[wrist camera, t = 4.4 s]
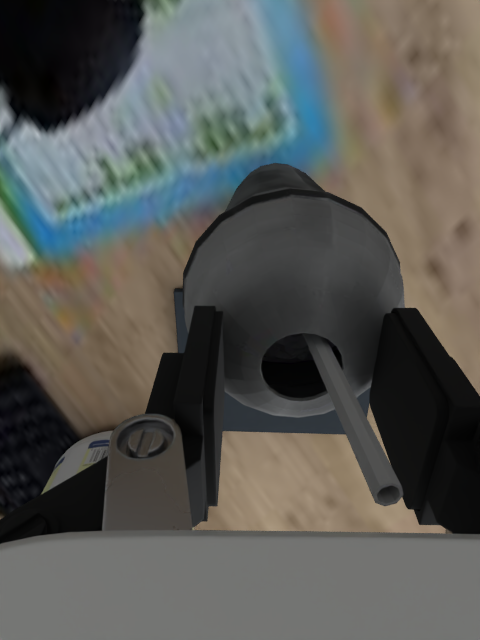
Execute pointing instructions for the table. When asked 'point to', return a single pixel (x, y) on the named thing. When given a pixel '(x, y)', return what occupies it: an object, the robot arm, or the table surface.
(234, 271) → the beverage cup
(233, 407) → the mat
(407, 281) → the table surface
